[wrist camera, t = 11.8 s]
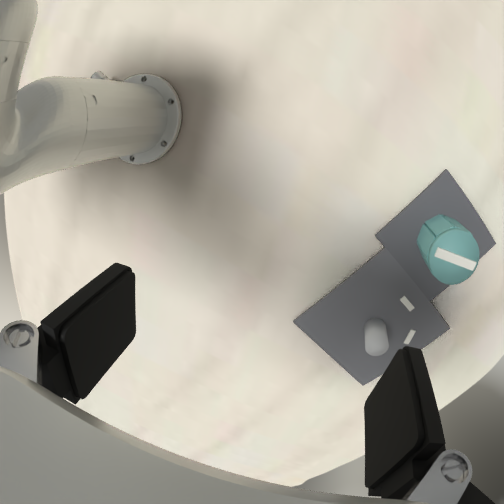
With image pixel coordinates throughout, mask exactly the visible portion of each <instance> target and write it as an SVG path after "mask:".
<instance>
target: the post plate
mask: <svg viewBox="0 0 504 504" xmlns="http://www.w3.org/2000/svg"><path fill="white" fill-rule="evenodd" d="M293 322H294V323H295V324H296V325H297V326H298V327H299V328H300V329H301V330H302V331H303V332H304V333H306V334H307V335H308V336H309V337H310V338H311V339H312V340H313V341H314V342H315V343H316V344H318V345H319V346H320V347H321V348H322V349H323V350H324V351H325V352H326V353H327V354H328V355H330V356H331V357H332V358H333V359H334V360H335V361H336V362H337V363H338V364H339V365H341V366H342V367H343V368H344V369H345V370H346V371H347V372H348V373H349V374H351V375H352V376H353V377H354V378H355V379H356V380H357V381H358V382H359V383H361V384H362V385H365V384H367V383H368V382H370V381H372V380H374V379H375V378H377V377H379V376H380V375H382V374H384V372H385V370H386V369H387V367H388V365H389V364H390V362H391V360H392V359H393V357H394V355H395V354H396V352H397V351H398V350H399V349H403V347H405V346H409V347H414V348H419V349H422V348H423V347H425V346H426V345H428V344H429V343H431V342H432V341H433V340H435V339H436V338H438V337H439V336H440V335H442V334H443V333H444V332H446V331H447V330H448V329H450V328H449V326H448V324H447V323H446V322H445V320H444V319H443V318H442V316H441V315H440V314H439V312H438V311H437V310H436V308H435V307H434V306H433V304H432V303H431V302H430V301H429V300H428V299H427V298H426V296H425V295H424V294H423V292H422V291H421V290H420V289H419V287H418V286H417V285H416V284H415V282H414V281H413V280H412V279H411V278H410V276H409V275H408V274H407V273H406V271H405V270H404V269H403V268H402V267H401V265H400V264H399V263H398V262H397V261H396V259H395V258H394V257H393V256H392V255H391V254H390V252H389V251H388V250H387V249H386V248H385V247H384V248H383V249H382V250H381V251H380V252H378V253H377V254H376V255H375V256H374V257H372V258H371V259H370V260H369V261H368V262H367V263H365V264H364V265H363V266H362V267H360V268H359V269H358V270H357V271H356V272H354V273H353V274H352V275H351V276H350V277H348V278H347V279H346V280H345V281H343V282H342V283H341V284H340V285H338V286H337V287H336V288H335V289H333V290H332V291H331V292H330V293H328V294H327V295H326V296H324V297H323V298H322V299H321V300H319V301H318V302H317V303H316V304H314V305H313V306H312V307H310V308H309V309H308V310H306V311H305V312H304V313H302V314H301V315H300V316H298V317H297V318H296V319H294V321H293Z"/></svg>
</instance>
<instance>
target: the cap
mask: <svg viewBox="0 0 504 504" xmlns="http://www.w3.org/2000/svg"><path fill="white" fill-rule="evenodd" d="M417 245H418V247H419V250H420V252H421V255H422V257H423V259H424V261H425V263H426V264H427V266H428V268H429V270H430V271H431V273H432V275H433V276H434V277H436V278H437V279H438V280H439V281H440V282H442V283H444V284H449V285H454V284H458V283H461V282H463V281H465V280H466V279H468V278H469V277H470V276H471V275H472V274H473V272H474V271H475V269H476V267H477V265H478V261H479V247H478V244H477V242H476V240H475V239H474V238H473V235H472V234H471V232H470V231H468V230H467V229H466V228H465V227H464V226H463V225H462V224H460V223H459V222H458V221H457V220H455V219H453V218H450V217H448V216H445V215H443V214H442V215H440V214H439V215H437V216H435V217H433V218H431V219H429V220H427V221H425V224H423V225H422V228H421V230H420V233H419V235H418V238H417Z"/></svg>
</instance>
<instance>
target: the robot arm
mask: <svg viewBox="0 0 504 504" xmlns="http://www.w3.org/2000/svg"><path fill="white" fill-rule="evenodd" d="M37 14H38V4H37V1H36V0H0V194H2V193H4V192H5V191H7V190H9V189H11V188H12V187H14V186H16V185H19V184H21V183H23V182H25V181H28V180H31V179H33V178H36V177H39V176H43V175H46V174H49V173H53V172H57V171H60V170H64V169H68V168H72V167H76V166H81V165H85V164H89V163H94V162H98V161H103V160H107V159H112V158H117V157H119V158H120V159H121V160H123V161H125V162H127V163H131V164H146V163H150V162H153V161H155V160H157V159H159V158H161V157H162V156H163V155H164V154H165V153H167V152H168V150H169V149H170V148H171V147H172V145H173V144H174V142H175V140H176V138H177V136H178V133H179V130H180V126H181V120H182V110H181V105H180V100H179V98H178V95H177V93H176V91H175V90H174V88H173V87H172V86H171V85H170V84H169V83H168V82H167V81H166V80H164V79H163V78H161V77H158V76H156V75H151V74H138V75H134V76H131V77H129V78H127V79H125V80H124V81H123V82H120V81H114V80H109V79H108V78H107V76H105V75H104V74H103V73H102V72H101V71H97V72H95V73H94V74H93V75H92V76H91V78H78V77H60V76H53V77H46V78H41V79H39V80H36V81H34V82H31V83H29V84H28V85H26V86H24V87H23V88H21V89H20V90H18V86H19V82H20V77H21V73H22V69H23V65H24V62H25V58H26V54H27V51H28V48H29V44H30V40H31V37H32V34H33V31H34V27H35V24H36V20H37ZM173 101H174V103H173ZM166 142H167V145H166ZM135 334H136V316H135V274H134V273H133V272H132V269H131V268H130V267H128V266H125V265H122V264H119V263H114V264H113V265H111V266H110V267H109V268H107V269H106V270H105V271H104V272H102V273H101V274H100V275H98V276H97V277H96V278H94V279H93V280H92V281H90V282H89V283H88V284H87V285H85V286H84V287H83V288H81V289H80V290H79V291H78V292H76V293H75V294H74V295H73V296H71V297H70V298H69V299H68V300H66V301H65V302H64V303H63V304H61V305H60V306H59V307H58V308H56V309H55V310H54V311H53V312H51V313H50V314H49V315H48V316H47V317H45V318H44V319H43V320H42V321H41V325H40V326H39V327H38V328H37V327H36V325H34V324H33V323H31V322H29V321H23V320H20V321H15V322H12V323H9V324H8V325H7V326H5V327H4V328H3V329H2V331H1V333H0V504H495V503H494V502H492V500H490V499H489V498H488V497H487V496H486V495H485V494H483V493H482V492H481V491H480V490H479V489H478V488H477V487H475V486H474V485H473V484H472V483H471V482H470V479H471V476H472V466H471V463H470V461H469V460H468V458H467V457H466V456H465V455H464V454H463V453H461V452H459V451H457V450H453V449H452V450H446V449H445V439H444V434H443V429H442V425H441V420H440V416H439V412H438V408H437V404H436V400H435V396H434V392H433V388H432V384H431V381H430V377H429V374H428V370H427V367H426V363H425V360H424V357H423V354H422V351H421V349H419V348H414V347H409V346H405V347H403V349H399V350H398V351H397V352H396V354H395V355H394V357H393V359H392V360H391V362H390V364H389V365H388V367H387V369H386V370H385V372H384V374H383V375H382V377H381V378H380V380H379V381H378V383H377V385H376V386H375V388H374V389H373V391H372V392H371V394H370V395H369V397H368V398H367V400H366V402H365V406H364V416H365V486H366V487H368V488H369V493H368V495H369V496H381V498H369V497H358V496H348V495H339V494H332V493H323V492H317V491H311V490H305V489H299V488H294V487H289V486H284V485H279V484H274V483H270V482H266V481H261V480H257V479H253V478H249V477H245V476H242V475H238V474H235V473H231V472H228V471H224V470H221V469H218V468H215V467H211V466H208V465H205V464H202V463H199V462H197V461H194V460H191V459H188V458H185V457H183V456H180V455H177V454H175V453H172V452H170V451H167V450H165V449H162V448H160V447H157V446H155V445H153V444H150V443H148V442H146V441H143V440H141V439H139V438H137V437H134V436H132V435H130V434H128V433H126V432H124V431H122V430H120V429H118V428H115V427H113V426H112V425H110V424H108V423H106V422H104V421H102V420H100V419H98V418H96V417H94V416H92V415H91V414H89V413H87V412H85V411H83V410H82V409H80V408H78V407H76V406H74V405H73V404H71V403H69V402H67V401H66V400H64V399H63V397H64V398H66V399H67V400H69V401H71V402H72V403H74V404H76V403H77V402H78V401H79V400H80V398H81V399H84V398H86V397H87V395H88V394H89V393H90V392H91V390H92V389H93V388H94V387H95V385H96V384H97V383H98V382H99V381H100V379H101V378H102V377H103V376H104V374H105V373H106V372H107V371H108V369H109V368H110V367H111V366H112V365H113V363H114V362H115V361H116V360H117V358H118V357H119V356H120V355H121V354H122V352H123V351H124V350H125V349H126V348H127V346H128V345H129V344H130V343H131V342H132V340H133V339H134V337H135Z"/></svg>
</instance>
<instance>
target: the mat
mask: <svg viewBox="0 0 504 504" xmlns="http://www.w3.org/2000/svg"><path fill="white" fill-rule="evenodd" d="M439 214H440V215H442V214H443V215H445V216H448V217H450V218H453V219H455V220H457V221H458V222H459V223H460V224H462V225H463V226H464V227H465V228H466V229H467V230H468V231H470V232H471V234H472V235H473V238H474V239H475V240H476V242H477V244H478V247H479V259H480V258H481V257H482V256H483V255H485V254H486V253H487V252H488V251H489V250H490V249H491V248H492V247H493V246H494V245H495V244H496V243H495V241H494V239H493V237H492V236H491V234H490V232H489V231H488V229H487V227H486V226H485V224H484V223H483V221H482V219H481V218H480V216H479V215H478V213H477V212H476V210H475V208H474V207H473V205H472V204H471V202H470V201H469V199H468V198H467V197H466V195H465V194H464V192H463V191H462V189H461V188H460V187H459V185H458V184H457V182H456V181H455V180H454V178H453V177H452V176H451V174H450V173H449V172H448V170H447V169H445V170H444V171H443V172H442V173H441V174H440V175H439V176H438V177H437V178H436V179H435V180H434V181H433V182H432V183H431V184H430V185H429V186H428V187H427V188H426V189H425V190H424V191H423V192H421V193H420V194H419V195H418V196H417V197H416V198H415V199H414V200H413V201H412V202H411V203H410V204H409V205H408V206H406V207H405V208H404V209H403V210H402V211H401V212H400V213H399V214H398V215H397V216H396V217H394V218H393V219H392V220H391V221H390V222H389V223H388V224H387V225H386V226H384V227H383V228H382V229H381V230H380V231H379V232H378V233H377V234H375V236H376V238H377V239H378V240H379V241H380V242H381V243H382V244H383V246H384V247H385V248H386V249H387V250H388V251H389V252H390V254H391V255H392V256H393V257H394V258H395V259H396V261H397V262H398V263H399V264H400V265H401V267H402V268H403V269H404V270H405V271H406V273H407V274H408V275H409V276H410V278H411V279H412V280H413V281H414V282H415V284H416V285H417V286H418V287H419V289H420V290H421V291H422V292H423V294H424V295H425V296H426V298H427V299H428V300H429V301H431V300H432V299H433V298H435V297H436V296H437V295H438V294H440V293H441V292H442V291H443V290H445V289H446V288H447V287H448V286H449V284H444V283H442V282H440V281H439V280H438V279H437V278H436V277H434V276H433V275H432V273H431V271H430V270H429V268H428V266H427V264H426V263H425V261H424V259H423V257H422V255H421V252H420V250H419V247H418V245H417V238H418V235H419V233H420V230H421V228H422V225H423V224H425V221H427V220H429V219H431V218H433V217H435V216H437V215H439Z"/></svg>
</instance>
